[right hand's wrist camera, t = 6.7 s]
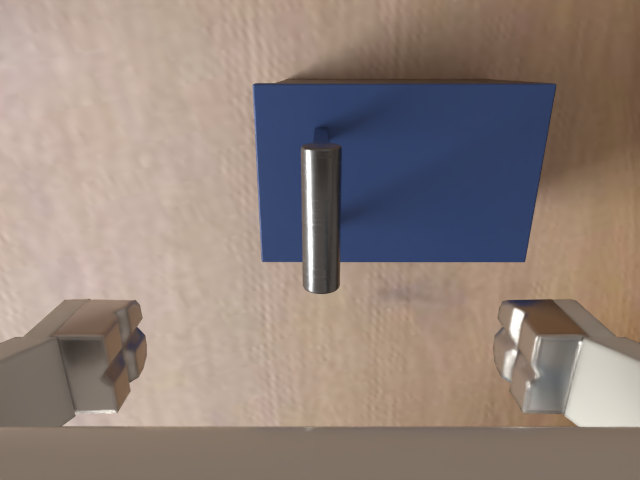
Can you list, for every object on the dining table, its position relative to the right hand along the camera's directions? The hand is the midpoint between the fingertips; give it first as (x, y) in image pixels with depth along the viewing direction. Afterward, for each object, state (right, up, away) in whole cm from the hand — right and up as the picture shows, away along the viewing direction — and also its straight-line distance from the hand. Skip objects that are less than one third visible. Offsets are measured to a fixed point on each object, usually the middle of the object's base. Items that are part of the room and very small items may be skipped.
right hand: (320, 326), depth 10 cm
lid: (+4, +6, +14) cm, 16 cm away
